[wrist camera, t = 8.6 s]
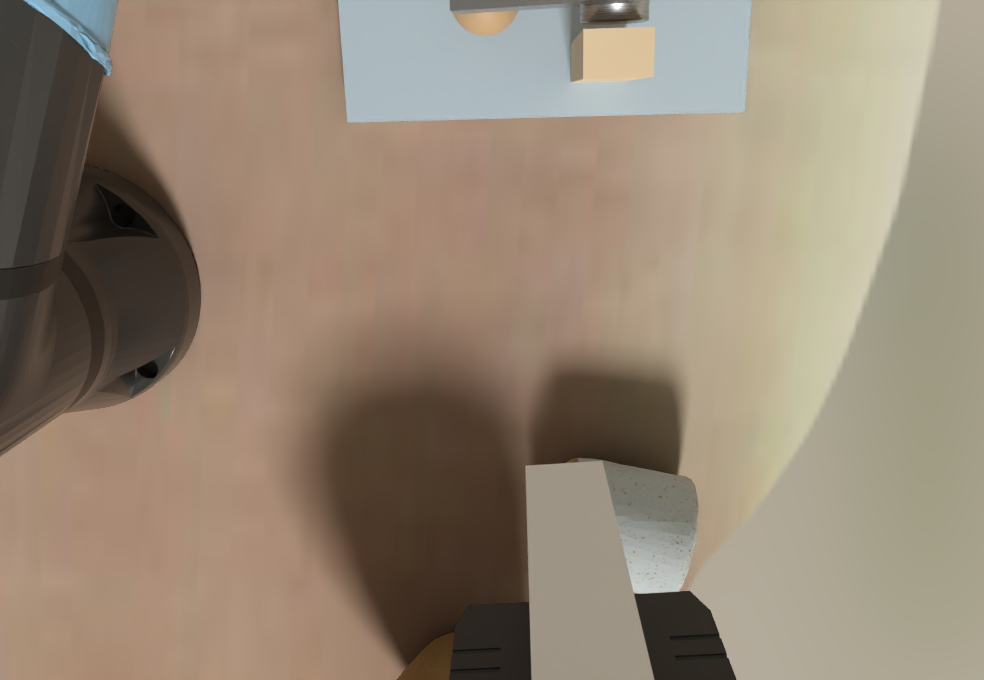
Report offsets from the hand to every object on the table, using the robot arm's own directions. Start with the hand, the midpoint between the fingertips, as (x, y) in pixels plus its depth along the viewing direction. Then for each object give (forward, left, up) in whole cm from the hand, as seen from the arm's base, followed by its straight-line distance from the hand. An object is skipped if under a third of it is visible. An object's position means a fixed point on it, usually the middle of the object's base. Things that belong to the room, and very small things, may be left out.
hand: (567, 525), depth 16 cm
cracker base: (0, +13, -34) cm, 36 cm away
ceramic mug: (+5, -19, -34) cm, 40 cm away
